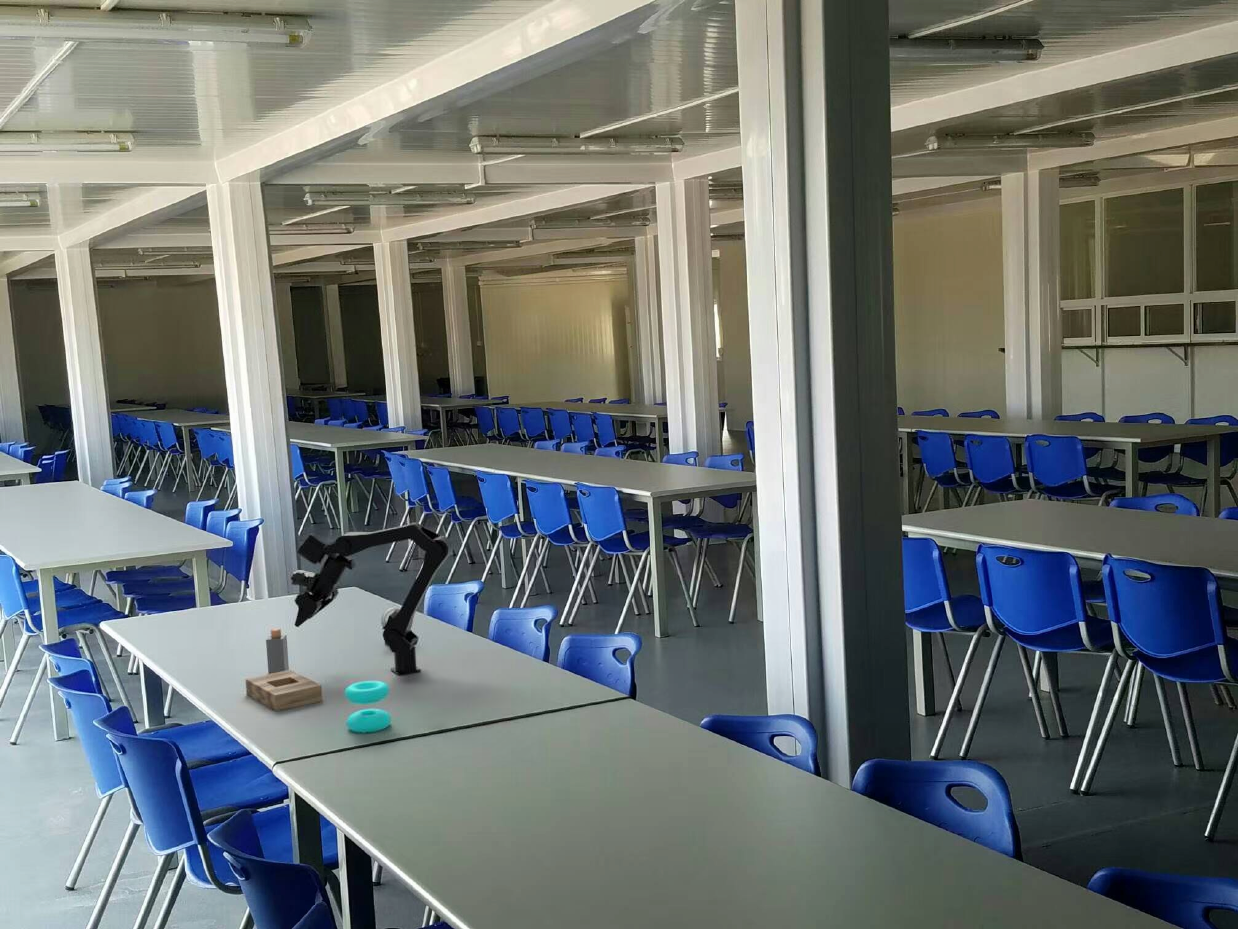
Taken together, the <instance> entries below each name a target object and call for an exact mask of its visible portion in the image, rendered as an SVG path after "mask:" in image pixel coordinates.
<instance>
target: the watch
mask: <svg viewBox="0 0 1238 929" xmlns="http://www.w3.org/2000/svg"><path fill="white" fill-rule="evenodd" d="M400 609H401V607H399V606H397V607H394V606H393V607H389V608H387V609H385V610H384V611H383V613H382V615H381V618H380V621H381V626H382V628H383V627H384V626H385V625H386V623H387V620H386V619H387V618H388V617H387V616H389V615H390V614H391V612H392V611H393V612H394V611H396V612H397V613H398V612H399V611H400ZM384 630H385V629H383V631H384ZM384 645H386V646H389V645H388V644H387V643H386V642H385V641H384ZM389 647H390V646H389Z"/></svg>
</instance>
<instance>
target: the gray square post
mask: <svg viewBox="0 0 1238 929" xmlns="http://www.w3.org/2000/svg"><path fill="white" fill-rule="evenodd" d="M287 636H288V635H287V634H282V630H281V628H273V629H271V630H270V635H269V636H268V637H267V638H266V639H265V643H266V658H267V659H266V661H267V669H268V670H267V671H268V674H272V673H277V672H282V671H287V670H290V666H289V665H290V664H289V651H288V639H287Z"/></svg>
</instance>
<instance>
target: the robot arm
mask: <svg viewBox="0 0 1238 929" xmlns="http://www.w3.org/2000/svg"><path fill="white" fill-rule="evenodd" d="M406 540H410V541H412V542H414V543H415V544H416V545H417V546H418V547H419V549H421V550H423V551H424V552H425V553H424V557H423V562H422V566H421V569H420V571H419V573H418V574H417V576H416V578H415V580H414V582H413V585H412V586H411V588H410V590H409V592H408V594H407V595H406V598H405V599H404V602H403V604H402V606H401V607H400V608H401V609H400V611H399V612H398V613H397V612H396V611H394V610H393V612H392V613H390V614H389V615H388V617H387V620H386V625H385V626H384V627H383V626H382V630H383V632H382V638H383V640H384V643H385V642H386V643H387V644H388V645H389V648H390V651H391V653H393V655H394V657H393V658H394V667H390V671H391V672H393V673H395V674H396V675H398V676H400V675H401V676H402V675H406V674H412V673H417V672H422V669H421V668H420V667H418V666H417V655H416V654H417V651H416V650H417V649H416V645H417V644H418V641H419V636H418V635H417V634H415V632H414V631H413V630H412V627H413V623H414V622H413V621H414V618H415V614H416V612H417V610H418V608H419V606H420V604H421V602H422V601H423V599H424V596H425V594H426V593H427V591H428V589H429V587H430V584H431V583H432V581H433V580H434V577H435V575H436V573H437V572H438V571H439V569H440V568H441V566H442V565H443V564H444V563H445V562H446V560H447V559H448V558H449V557H450V555H451V554H452V552H453V551H454V549H455V548H454V543H453V541H452V539H451V538H450V537H448V536H446V535H440V534H438V533H437V532H436V531H434V530H431V529H429V528H427V527H424V526H423V525H422V524H420V523H419V522H411V523H409V524H404V525H399V526H395V527H390V528H386V529H379V530H375V531H370V532H369V531H368V532H367V531H348V532H346V533H344V534H342V535H340V536H338V537H337V538H336V539H335V541H334V540H333V541H331V542H329V543H328V542H326V541H325V540H323V539H321V538H319V537H318V536H317V535H316V534H314V533H311V534H309V536H308V537H307V538H306V539H305V541H303V543H302V544H301V545H300V546H299V548H298V550H297V555H298V556H300V557H301V558H303V559H304V560H306V561H307V562H309V563H311V564H312V565H314V566H317V565H318V564H319V565H322V566H321V568H320V570H319V571H318V572H316V573H315V572H312V571H307V570H302V569H298V570H297V569H296V570H295V571H293V573H292V575H291V577H290V580H291V585H294V586H301V587H306V588H305V590H307V591H303V592H300V593H298V594H297V595H296V597H295V598H294V603H295V605H297V608H298V610H297V613H296V614H297V615H296V617H295V621H294V626H295V627H296V628H299V627H300V626H301V625H303V624H304V623H305V622H306V621H308V620H310V619H311V618H313V617H315V616H316V615H317V614H318V613H319V612H321V611H322V610H323V609H325V608H326V607H327V606H329V604H331V603H332V602H333V601H334V600H335V599H336V598H337V597H338V595H339V589H338V588H337V586H338V585H339V584H340V582H341V578H342V577H343V575H344V573H345V571H346V569H349V570H350V571H351V570H354V569H356V567H357V565H356V562H355V558H353V557H352V558H348V557H350V556H352V555H356V554H358V553H360V552H363V551H365V550H367V549H369V548H373V547H377V546H382V545H383V546H384V545H387V544H392V543H397V542H401V541H402V542H403V541H406ZM384 629H385V630H384ZM388 645H387V646H388Z"/></svg>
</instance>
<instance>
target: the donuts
mask: <svg viewBox="0 0 1238 929" xmlns="http://www.w3.org/2000/svg"><path fill="white" fill-rule="evenodd" d="M389 693H390V687H389V686H388V684H387V683H385V682H383V681H379V680H365V681H358V682H355V683H352V684H350V685H348V686H347V687H346V688H345V690H344V696H345V698H346V699H347V701H349V702H351V703H353V704H357V705H368V704H369V705H370V704H374V703H378V702H381V701H383V700H385V698H386V697H387V696H388V695H389ZM391 721H392V718H391V715H390V714H389V713H388V712H387V711H386V710H383V709H379V708H366V709H361V710H360V709H359V710H357V711H355V712H354V713H352V714H351V715H349V716H348V719H347V721H346V726H347V728H348V729H349V730H350V731H352V732H355V733H360V732H361V733H363V734H365V733H366V732H368V733H375V732H378V731H379V732H380V731H381V730H384V729H386V728H387V727H388V726H390V724H391ZM361 733H360V734H361ZM366 734H367V733H366Z"/></svg>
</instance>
